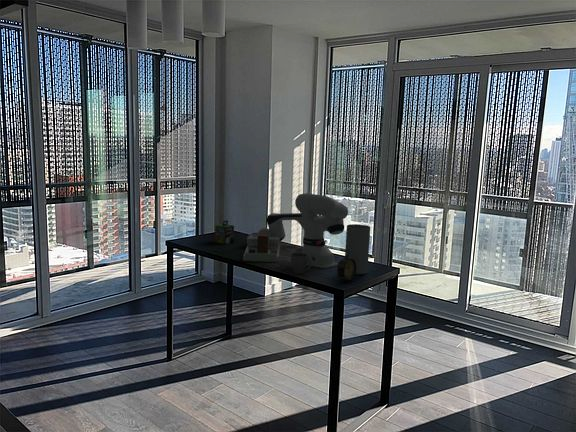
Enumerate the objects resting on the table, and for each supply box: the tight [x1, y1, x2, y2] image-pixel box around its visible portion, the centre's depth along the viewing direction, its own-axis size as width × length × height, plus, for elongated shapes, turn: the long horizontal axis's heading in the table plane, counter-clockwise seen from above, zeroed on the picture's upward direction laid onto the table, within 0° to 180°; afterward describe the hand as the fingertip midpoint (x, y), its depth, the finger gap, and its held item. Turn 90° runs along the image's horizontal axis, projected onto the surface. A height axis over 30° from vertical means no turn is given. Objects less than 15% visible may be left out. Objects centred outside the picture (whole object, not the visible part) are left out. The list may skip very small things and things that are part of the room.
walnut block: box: [257, 230, 270, 254], centre depth 288 cm, size 14×6×12 cm, turn 0°
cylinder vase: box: [344, 223, 371, 275], centre depth 261 cm, size 12×12×25 cm
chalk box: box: [214, 219, 235, 245], centre depth 320 cm, size 9×9×15 cm
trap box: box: [242, 242, 281, 263], centre depth 294 cm, size 36×20×4 cm, turn 0°
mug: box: [290, 252, 312, 275], centre depth 256 cm, size 12×9×10 cm
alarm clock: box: [336, 250, 356, 284], centre depth 243 cm, size 11×5×16 cm, turn 138°
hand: (262, 243), depth 296 cm, fingers closed
